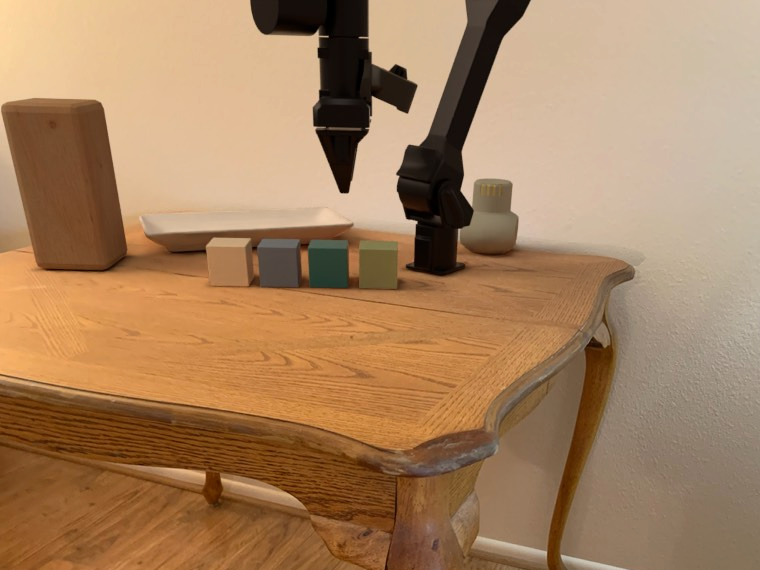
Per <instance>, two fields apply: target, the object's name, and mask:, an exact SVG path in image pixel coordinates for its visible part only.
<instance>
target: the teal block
mask: <svg viewBox="0 0 760 570" xmlns="http://www.w3.org/2000/svg"><path fill="white" fill-rule="evenodd" d="M349 245H350V241H349V239H332V240H311V242H310V244H308V246H307V261H308V263H307V265H308V283H309V285H308V286H309V288H310V289H311V288H314V289H316V288H317V289H318V288H323V289H348V288H349V282H350V251H349V250H350V248H349V247H350V246H349Z"/></svg>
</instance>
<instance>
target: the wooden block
mask: <svg viewBox="0 0 760 570" xmlns="http://www.w3.org/2000/svg"><path fill="white" fill-rule="evenodd" d="M0 108H1V109H0V113H1V117H2V122H3V127H4V130H5V134H6V138H7V143H8V148H9V153H10V156H11V160H12V164H13V169H14V173H15V177H16V183H17V186H18V190H19V195H20V199H21V203H22V208H23V213H24V216H25V220H26V225H27V229H28V233H29V238H30V243H31V247H32V251H33V255H34V259H35V263H36V265H37V267H38V268H41V269H44V270H70V271H105V270H107V269H109V268H111V267H112V266H113V265H115V264H116V263H117V262H119V261H120V260H121V259H123V258H124V257H126V256H127V254H128V243H127V239H126V233H125V226H124V221H123V215H122V208H121V204H120V196H119V190H118V184H117V178H116V172H115V167H114V161H113V155H112V148H111V143H110V137H109V130H108V125H107V119H106V113H105V108H104V106H103V104H102V102H101V101H98V100H97V99H89V98H88V99H87V98H86V99H84V98H53V97H48V98H47V97H32V98H31V97H30V98H25V99H19V100H11V101H6V102H4V103H2V104H1V107H0Z"/></svg>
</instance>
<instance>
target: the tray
mask: <svg viewBox="0 0 760 570" xmlns="http://www.w3.org/2000/svg"><path fill="white" fill-rule="evenodd" d="M138 219H139V222H140V224H141V226H142V229H143V233H144V236H145V237H146V238H147V239H149V241H152V242H154V243H155V244H157V245H159V246H162V247H165V248H166V249H167V251H169V252H174V253H175V252H176V253H177V252H191V251H193V252H194V251H206V246H207V244H208V243H209V242H210V241H211V240H212V239H213V238H251V243H252V248H257V247H258V245H259V244H260V242H261V240H262V239H300V245H309V244H310V242H311V240H333V239H334V238H336V237H338V236H340V235H342V234H345V233H346V232H347V231H349V230H350V229H351V228H353V227H354V225H355V223H354V222H352V221H351V220H349V219H348V218H346V217H345V216H343V215H342V214H340V213H338V212H337V211H335V210H333V209H332V208H329V207H326V206H308V207H287V208H285V207H284V208H265V209H264V208H263V209H262V208H261V209H240V210H215V211H211V210H209V211H183V212H182V211H181V212H157V213H145V214H141V215H139V216H138Z"/></svg>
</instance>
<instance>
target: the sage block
mask: <svg viewBox="0 0 760 570" xmlns="http://www.w3.org/2000/svg"><path fill="white" fill-rule="evenodd" d="M398 244H399V243H398V241H397V240H359V247H358V288H359V289H360V290H361V289H363V290H364V289H365V290H368V289H369V290H398V272H399V271H398V270H399V269H398V268H399V265H398V264H399V245H398Z"/></svg>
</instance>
